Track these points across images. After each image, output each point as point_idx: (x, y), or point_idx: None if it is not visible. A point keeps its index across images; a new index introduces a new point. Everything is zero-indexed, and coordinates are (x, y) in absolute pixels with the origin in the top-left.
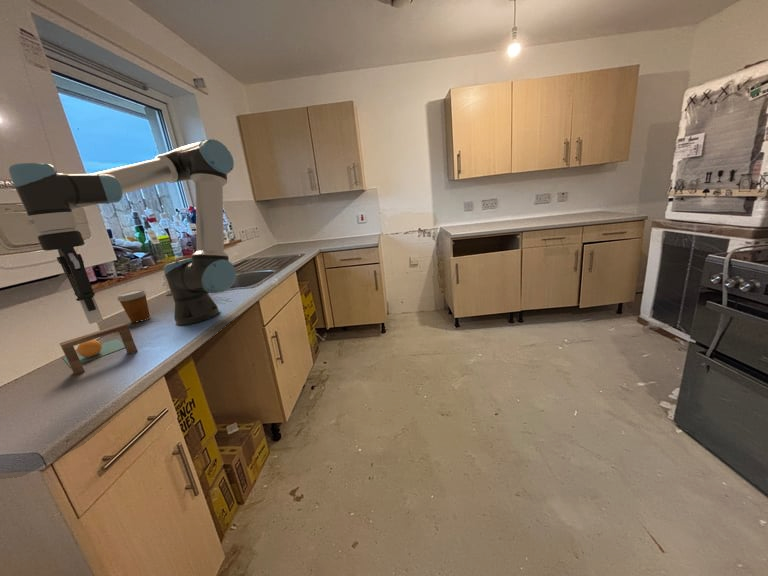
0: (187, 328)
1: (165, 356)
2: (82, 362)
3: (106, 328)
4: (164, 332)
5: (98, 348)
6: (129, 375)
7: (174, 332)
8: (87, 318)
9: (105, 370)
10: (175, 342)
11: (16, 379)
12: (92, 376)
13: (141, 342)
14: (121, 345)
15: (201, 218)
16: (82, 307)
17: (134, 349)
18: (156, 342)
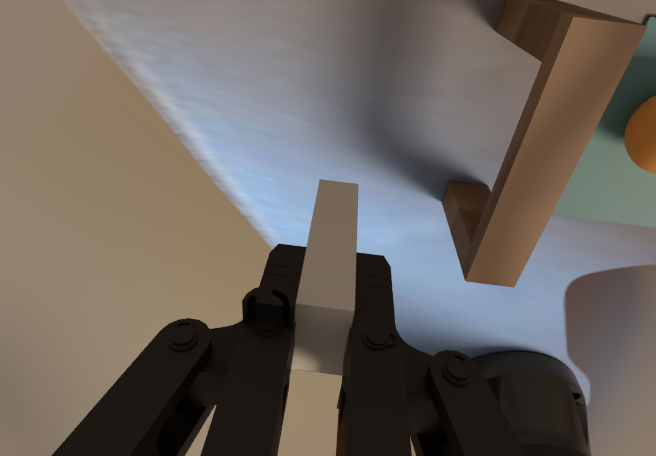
0: (444, 340)
1: (266, 211)
2: (631, 65)
3: (542, 230)
4: (515, 309)
5: (626, 149)
6: (226, 95)
7: (465, 315)
8: (331, 201)
9: (392, 76)
10: None
11: None
12: (390, 27)
13: None
14: (600, 209)
15: None
16: (338, 256)
17: (446, 202)
18: (447, 259)
